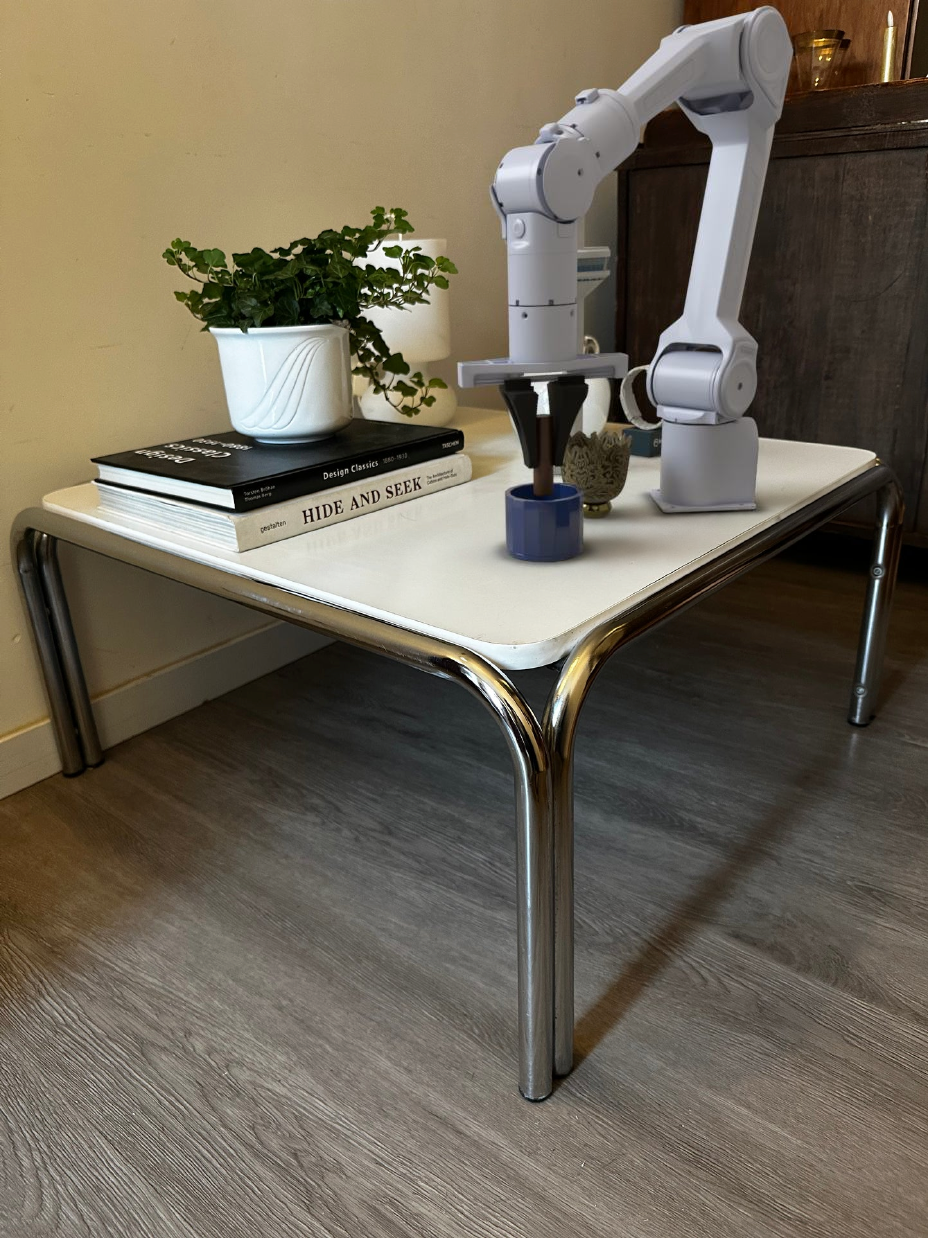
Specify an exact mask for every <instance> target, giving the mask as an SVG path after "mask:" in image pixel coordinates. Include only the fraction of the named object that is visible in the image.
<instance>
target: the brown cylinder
mask: <svg viewBox="0 0 928 1238" xmlns="http://www.w3.org/2000/svg"><path fill="white" fill-rule="evenodd" d="M536 441H537V468H535V469H532V474H533V475H532V476H533V478H532V479H533V480H532V481H533V482H532V483H533V486H534V495H537V496H550V495H552V494H553V493H554V482H555V480H554V479H555V478H554V477H555V476H554V475H555V466H554V465H553V415H551V414H550V413H537V421H536Z"/></svg>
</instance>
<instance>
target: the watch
mask: <svg viewBox="0 0 928 1238" xmlns="http://www.w3.org/2000/svg"><path fill="white" fill-rule="evenodd" d="M650 365H651V364H646V365H641V366H637V367H634V368H633V369H630V370H628V377H627V378H622V382H621V385H620V394H619V399H620V403H621V407H622V409H623V412H624V415H625V416H626V418H627V420H628V422H629V423H631V424H633V426H629V427H626V428H622V429H621V438H622V437H623V435H624V433H625V434H626V439H627V438H628V437H629V436H631V435H632V446H631V452H630V456H636V457H637V456H638V457H645V458H652V457H654V456H657V455H661V446H662V421H663V418H662V417H661V418H662V419H660V421H659V422H658V423H652V422H647V421H646V420H644V419H643V417H642V413H641V411H640V410H639V407H638V405H637V401H636V398H635V397H636V396H635V394H634V393H633V387H632V386H633V384H632V383H633V382H634V379H635V378H636V377H637V375H638V374H639V373H640V372H641V371H643V370H645V371H646V375H647V374H648V370H649V367H650Z"/></svg>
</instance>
